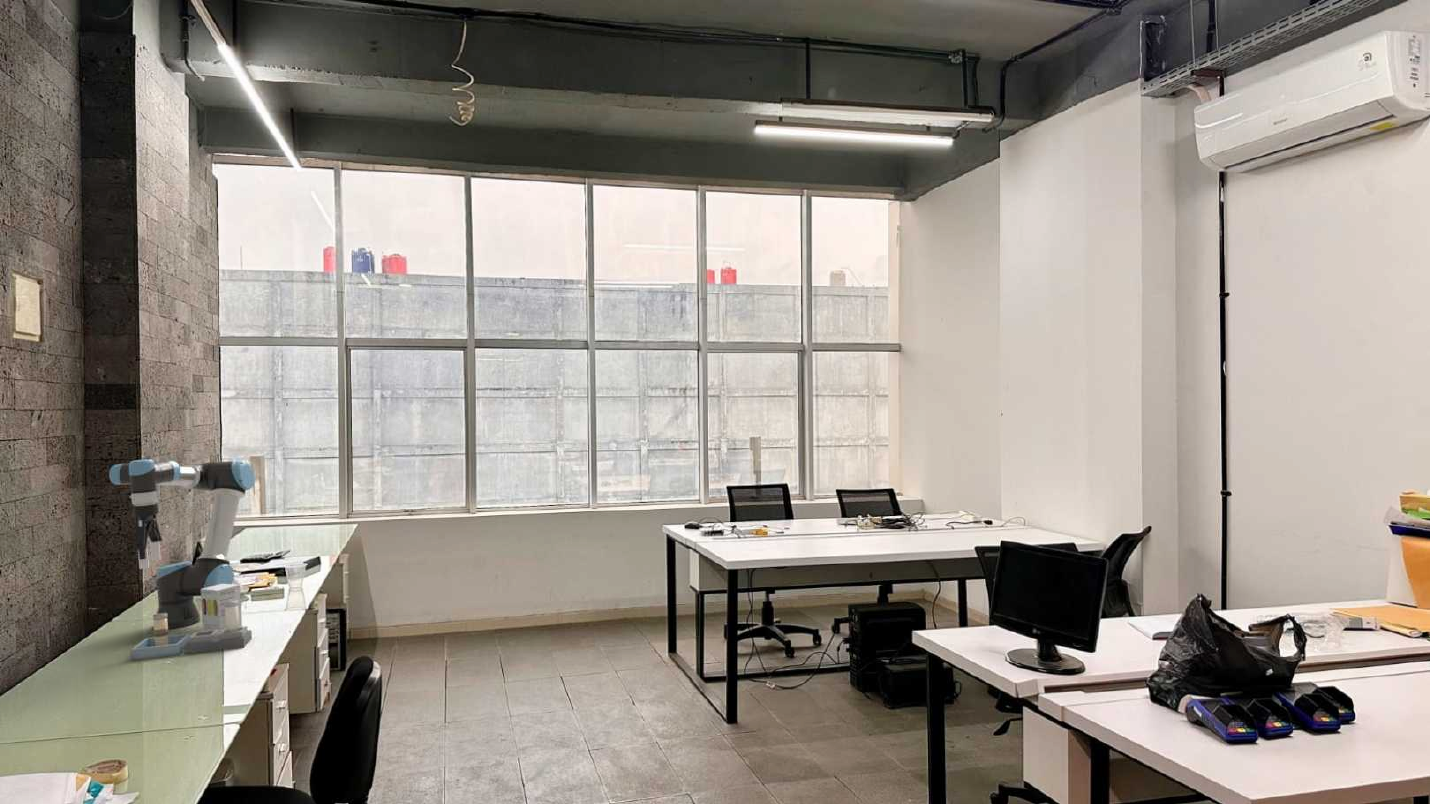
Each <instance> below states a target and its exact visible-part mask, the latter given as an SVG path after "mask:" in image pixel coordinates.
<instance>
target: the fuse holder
mask: <svg viewBox="0 0 1430 804" xmlns="http://www.w3.org/2000/svg"><path fill="white" fill-rule="evenodd" d="M224 607H225V618H226V629H223V630H222V631H221V632H220V633H219V629H218V630H209V631H203V630H201V631H200V630H199V631H195V632H194V633H191V636H190V637H189V642H188V643H187V644H186V645H185V650H184V655H189V654H190V655H191V654H197V653H198V654H199V653H206V652H214V651H215V652H216V651H222V650H224V651H225V650H233V649H241V648H245V647H246V646H247V644H249V643H250V641H252V639H253V634H252V630H251V629H250V630H248V625H247V626H242V627H239V614H238V600H231V601H226V602H224Z"/></svg>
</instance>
